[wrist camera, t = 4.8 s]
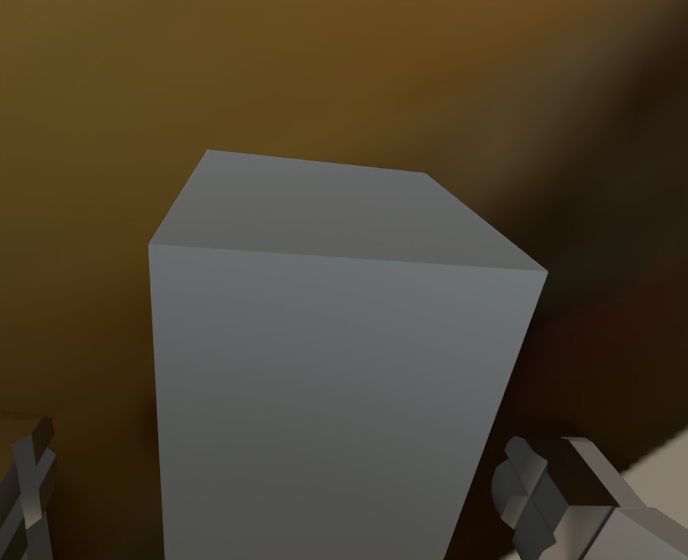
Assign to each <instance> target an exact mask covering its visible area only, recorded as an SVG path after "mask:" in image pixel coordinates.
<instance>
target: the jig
mask: <svg viewBox="0 0 688 560" xmlns="http://www.w3.org/2000/svg"><path fill="white" fill-rule="evenodd" d="M26 534H27V541H28V547H27V549H26V551H25V553H24V555H23V557H22V559H21V560H53V555H52V548H51V541H50V535H49V528H48V521H47V515H46V510H45V512H44V514H43V516H42V518H41V519H40V520H38V521H37V522H36V523H34V524H33V525H32V526H30V527H29V528H28V529H26Z"/></svg>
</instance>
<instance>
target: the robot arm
mask: <svg viewBox="0 0 688 560" xmlns="http://www.w3.org/2000/svg"><path fill="white" fill-rule="evenodd" d="M53 436H54V429H53V422H52V418H50V417H48V416H43V415H27V414H12V413H0V560H21V559H22V557H23V555H24V553H25V551H26V549H27V547H28V541H27V534H26V529H28V528H29V527H30V526H32V525H33V524H34V523H36V522H37V521H38V520H40V519H41V518H42V516H43V514H44V512H45V510H46V508H47V506H48V504H49V502H50V499H51V495H52V492H53V489H54V485H55V482H56V473H57V459H56V455H55V454H54V453H53V452H52V451H51V450H50V449H49V448H48V445H49V443H50V441H51V439H52V438H53ZM504 451H505V454H506V456H507V460H505V461H504V462H503V463H501V464H500V465H499V466H498V467H497V468H496V470H495V473H494V475H493V478H492V497H493V501H494V505H495V508H496V510H497V512H498V514H499V516H500V518H501V519H502V520H503V521H504V522H506V523H507V524H508V525H509V526H510V527H511V528H513V534H512V542H513V544H514V546H515V548H516V550H517V552H518V554H519V556H520V558H521V560H688V529H686V528H684V527H683V526H681V525H680V524H678V523H677V522H675V521H674V520H672V519H671V518H669V517H667V516H666V515H665V514H663V513H661V512H660V511H658V510H657V509H655V508H647V507H646V505H645V504H644V503H643V502H642V501H641V500H640V498H639V497H638V496H637V495H636V494H635V492H634V491H633V490H632V489H631V488H630V486H629V485H628V484H627V483H626V482H625V480H624V479H623V478H622V477H621V476H620V474H619V473H618V472H617V471H616V470H615V468H614V467H613V466H612V465H611V464H610V462H609V461H608V460H607V459H606V458H605V457H604V455H603V454H602V453H601V452H600V451H599V449H598V448H597V447H596V446H595V445H594V443H592V442H591V441H589V440H588V439H586V438H582V437H560V438H559V437H542V436H514V437H513V438H512V439H510V440H509V441H508V444H507V446H506V448H505V450H504Z"/></svg>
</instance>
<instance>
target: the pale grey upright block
mask: <svg viewBox="0 0 688 560" xmlns="http://www.w3.org/2000/svg"><path fill="white" fill-rule="evenodd" d="M148 251H149V270H150V289H151V307H152V326H153V345H154V364H155V383H156V402H157V421H158V440H159V458H160V477H161V496H162V515H163V534H164V553H165V560H443V559H444V556H445V554H446V551H447V548H448V545H449V543H450V540H451V537H452V534H453V532H454V529H455V526H456V523H457V521H458V518H459V515H460V512H461V510H462V507H463V504H464V502H465V499H466V496H467V493H468V491H469V488H470V485H471V482H472V480H473V477H474V474H475V471H476V469H477V466H478V463H479V460H480V458H481V455H482V452H483V449H484V447H485V444H486V441H487V438H488V436H489V433H490V430H491V427H492V425H493V422H494V419H495V417H496V414H497V411H498V408H499V406H500V403H501V400H502V397H503V395H504V392H505V389H506V386H507V384H508V381H509V378H510V375H511V373H512V370H513V367H514V364H515V362H516V359H517V356H518V353H519V351H520V348H521V345H522V343H523V340H524V337H525V334H526V332H527V329H528V326H529V323H530V321H531V318H532V315H533V312H534V310H535V307H536V304H537V301H538V299H539V296H540V293H541V290H542V288H543V285H544V282H545V279H546V277H547V274H548V271H547V270H546V269H544V268H543V267H542V266H541V265H539V264H538V263H537V262H536V261H534V260H533V259H532V258H531V257H529V256H528V255H527V254H526V253H524V252H523V251H522V250H521V249H519V248H518V247H517V246H516V245H514V244H513V243H512V242H511V241H509V240H508V239H507V238H506V237H504V236H503V235H502V234H501V233H499V232H498V231H497V230H496V229H494V228H493V227H492V226H491V225H489V224H488V223H487V222H486V221H484V220H483V219H482V218H481V217H479V216H478V215H477V214H476V213H474V212H473V211H472V210H471V209H469V208H468V207H467V206H466V205H464V204H463V203H462V202H461V201H459V200H458V199H457V198H456V197H454V196H453V195H452V194H451V193H449V192H448V191H447V190H446V189H444V188H443V187H442V186H441V185H439V184H438V183H437V182H436V181H434V180H433V179H432V178H431V177H429V176H428V175H427V174H426V173H420V172H411V171H402V170H392V169H383V168H374V167H365V166H355V165H346V164H337V163H328V162H318V161H309V160H300V159H290V158H281V157H272V156H263V155H253V154H244V153H235V152H226V151H216V150H207V151H206V152H205V154H204V156H203V157H202V159H201V160H200V162H199V164H198V165H197V167H196V168H195V170H194V172H193V173H192V175H191V176H190V178H189V180H188V181H187V183H186V184H185V186H184V188H183V189H182V191H181V192H180V194H179V196H178V197H177V199H176V200H175V202H174V204H173V205H172V207H171V208H170V210H169V212H168V213H167V215H166V216H165V218H164V220H163V221H162V223H161V224H160V226H159V228H158V229H157V231H156V232H155V234H154V235H153V237H152V239H151V240H150V242H149V243H148Z"/></svg>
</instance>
